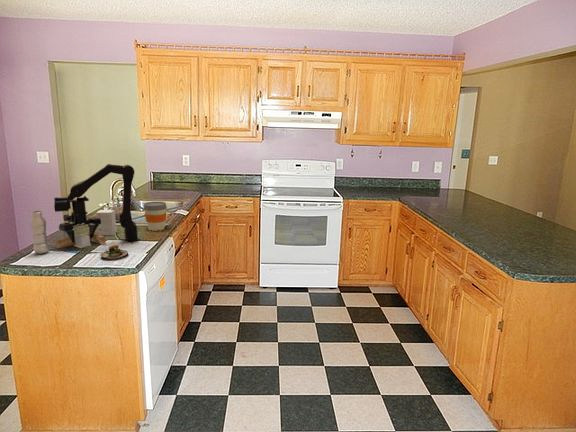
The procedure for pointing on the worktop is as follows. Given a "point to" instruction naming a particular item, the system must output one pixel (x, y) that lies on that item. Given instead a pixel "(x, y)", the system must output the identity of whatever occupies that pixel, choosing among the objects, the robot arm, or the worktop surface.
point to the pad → (80, 246)
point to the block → (82, 240)
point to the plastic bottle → (39, 233)
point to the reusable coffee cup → (155, 215)
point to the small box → (106, 222)
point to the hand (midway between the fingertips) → (82, 240)
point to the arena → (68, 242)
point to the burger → (113, 252)
